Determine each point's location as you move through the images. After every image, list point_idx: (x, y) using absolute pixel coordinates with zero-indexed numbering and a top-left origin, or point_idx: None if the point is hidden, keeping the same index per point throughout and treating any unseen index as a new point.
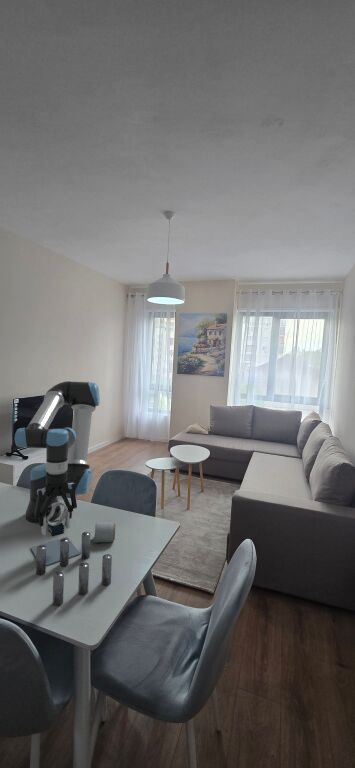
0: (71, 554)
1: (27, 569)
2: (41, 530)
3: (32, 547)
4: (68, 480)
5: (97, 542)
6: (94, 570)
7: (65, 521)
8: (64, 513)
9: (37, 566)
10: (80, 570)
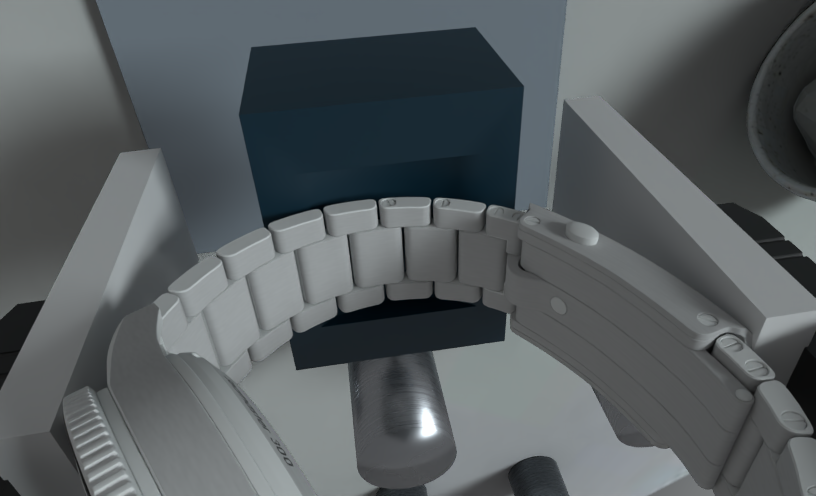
0: None
1: (54, 221)
2: (111, 171)
3: None
4: None
5: (770, 108)
6: (533, 384)
7: (600, 179)
8: (642, 391)
9: None
10: None
